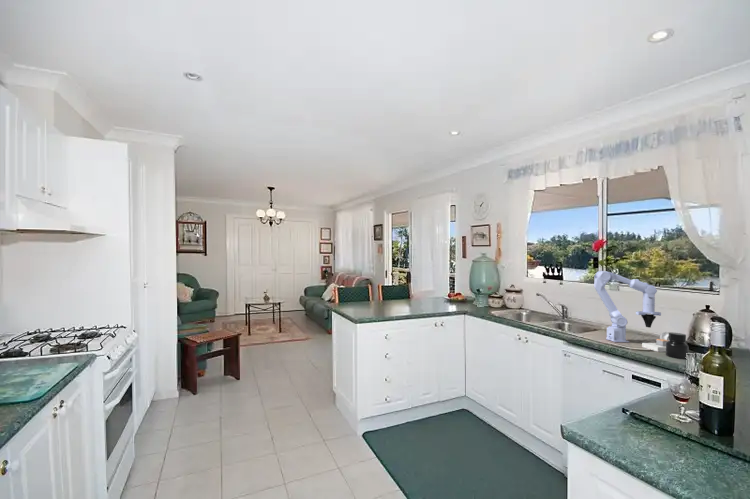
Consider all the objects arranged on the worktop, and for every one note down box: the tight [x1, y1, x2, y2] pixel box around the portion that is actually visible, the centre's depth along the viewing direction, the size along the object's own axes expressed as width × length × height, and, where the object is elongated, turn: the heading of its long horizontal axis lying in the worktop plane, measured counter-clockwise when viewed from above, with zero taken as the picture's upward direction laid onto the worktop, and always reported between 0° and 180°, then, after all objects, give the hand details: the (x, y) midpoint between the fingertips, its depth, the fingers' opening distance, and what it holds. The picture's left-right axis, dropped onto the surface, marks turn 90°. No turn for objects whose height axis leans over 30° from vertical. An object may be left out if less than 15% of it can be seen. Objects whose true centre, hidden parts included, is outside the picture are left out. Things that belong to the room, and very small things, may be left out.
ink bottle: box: [665, 331, 690, 360], centre depth 180 cm, size 10×9×12 cm
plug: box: [655, 338, 669, 347], centre depth 196 cm, size 4×4×5 cm
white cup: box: [659, 331, 670, 341], centre depth 208 cm, size 8×8×10 cm
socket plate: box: [641, 342, 666, 353], centre depth 195 cm, size 16×10×3 cm, turn 95°
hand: (648, 327), depth 210 cm, fingers closed
